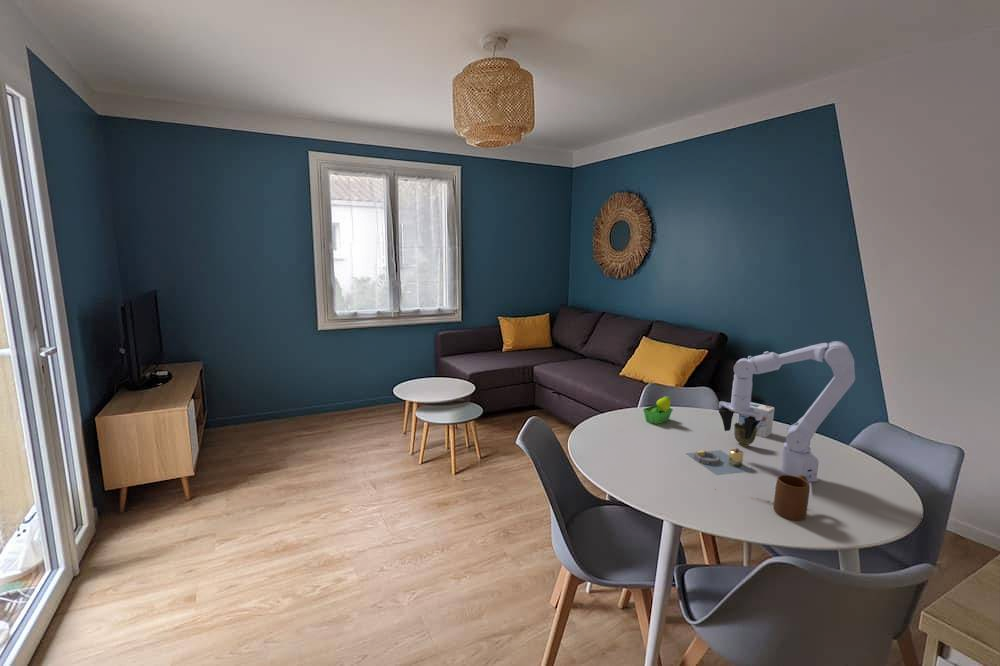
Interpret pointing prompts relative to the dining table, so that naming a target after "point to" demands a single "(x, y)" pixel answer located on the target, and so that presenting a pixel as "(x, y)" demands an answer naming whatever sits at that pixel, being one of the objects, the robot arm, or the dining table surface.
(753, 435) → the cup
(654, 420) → the fruit basket
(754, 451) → the dining table surface
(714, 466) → the blue-grey flat slab
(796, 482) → the mug
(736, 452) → the knob
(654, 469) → the dining table surface
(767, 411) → the light bulb box
